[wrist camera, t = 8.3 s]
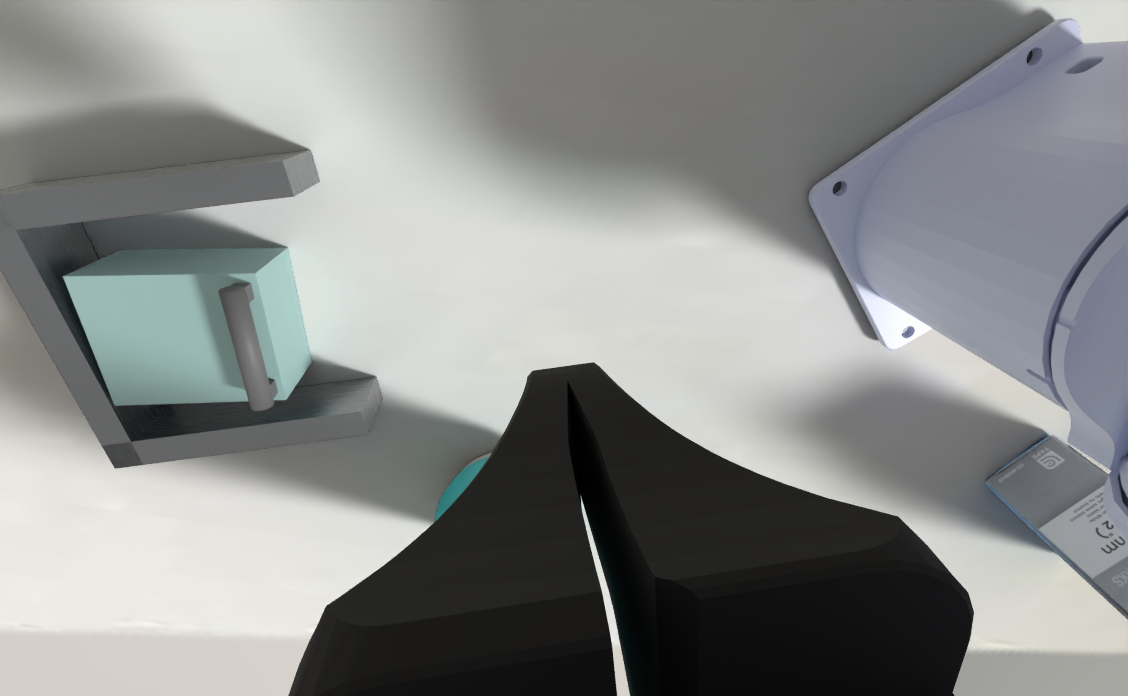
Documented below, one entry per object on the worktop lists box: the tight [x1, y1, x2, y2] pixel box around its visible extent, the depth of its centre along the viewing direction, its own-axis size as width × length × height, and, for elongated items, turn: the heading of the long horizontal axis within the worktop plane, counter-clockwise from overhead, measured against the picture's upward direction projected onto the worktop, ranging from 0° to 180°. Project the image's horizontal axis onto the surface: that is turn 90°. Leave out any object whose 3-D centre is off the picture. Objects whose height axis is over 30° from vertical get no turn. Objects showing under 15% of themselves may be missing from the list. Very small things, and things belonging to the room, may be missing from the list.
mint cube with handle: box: [63, 247, 312, 411], centre depth 19 cm, size 6×4×4 cm
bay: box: [0, 150, 383, 468], centre depth 19 cm, size 9×10×2 cm
